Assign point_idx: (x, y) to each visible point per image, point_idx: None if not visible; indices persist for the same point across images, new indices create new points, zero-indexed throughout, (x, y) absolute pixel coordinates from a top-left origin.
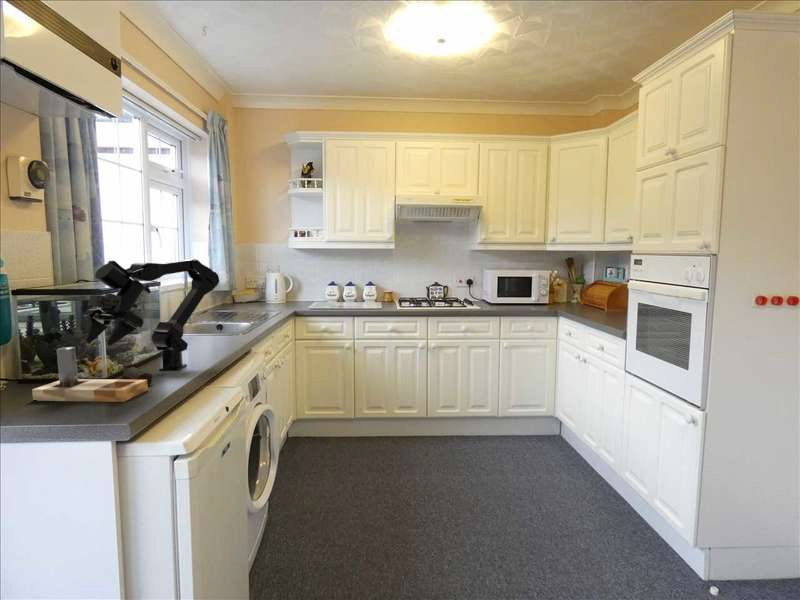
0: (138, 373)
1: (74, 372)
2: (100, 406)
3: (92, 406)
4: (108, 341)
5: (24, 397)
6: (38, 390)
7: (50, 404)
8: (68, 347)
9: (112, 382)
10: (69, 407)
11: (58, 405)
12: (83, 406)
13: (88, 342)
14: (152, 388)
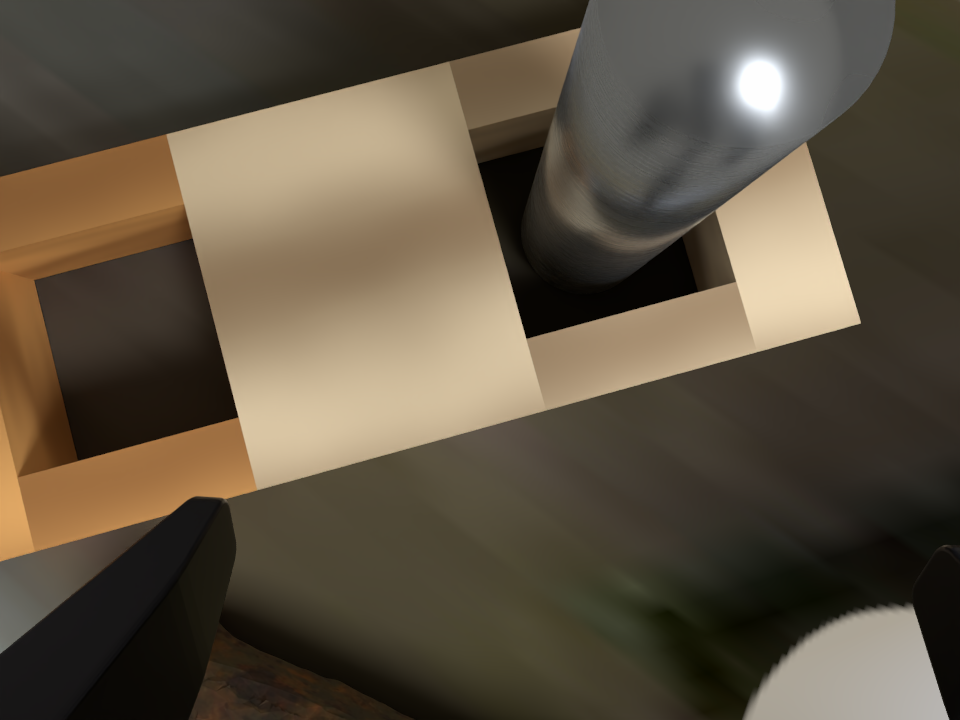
0: (244, 716)
1: (546, 181)
2: (41, 99)
3: (105, 81)
4: (165, 531)
5: (882, 73)
6: None
7: (482, 17)
8: (804, 82)
9: (231, 381)
10: (261, 12)
11: (395, 19)
12: (176, 60)
13: (931, 584)
14: (35, 603)
